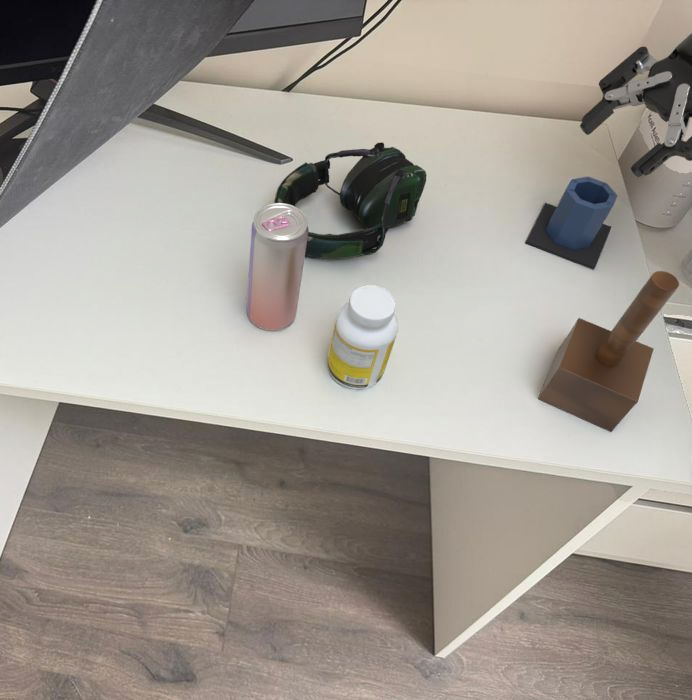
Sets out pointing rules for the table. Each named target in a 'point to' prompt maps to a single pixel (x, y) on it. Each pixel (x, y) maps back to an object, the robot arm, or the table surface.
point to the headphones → (360, 198)
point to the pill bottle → (363, 337)
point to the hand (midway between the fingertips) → (608, 151)
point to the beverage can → (276, 265)
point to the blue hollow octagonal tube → (581, 212)
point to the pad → (544, 242)
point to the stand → (607, 360)
